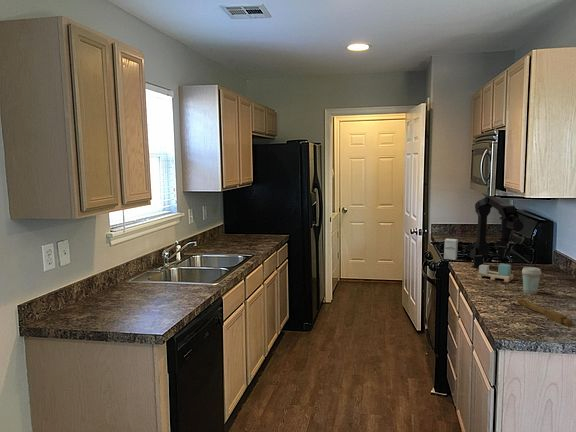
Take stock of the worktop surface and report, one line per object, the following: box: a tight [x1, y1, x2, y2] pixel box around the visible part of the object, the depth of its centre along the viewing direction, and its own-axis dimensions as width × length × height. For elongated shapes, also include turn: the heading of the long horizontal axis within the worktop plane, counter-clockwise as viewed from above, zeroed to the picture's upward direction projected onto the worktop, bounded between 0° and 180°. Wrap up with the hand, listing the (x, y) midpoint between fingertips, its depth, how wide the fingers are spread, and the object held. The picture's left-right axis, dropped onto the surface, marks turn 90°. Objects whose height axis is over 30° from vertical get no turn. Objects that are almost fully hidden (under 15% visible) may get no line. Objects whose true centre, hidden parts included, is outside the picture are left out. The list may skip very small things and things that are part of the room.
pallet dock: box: [476, 270, 514, 283], centre depth 259 cm, size 9×16×2 cm, turn 49°
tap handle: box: [517, 297, 573, 327], centre depth 201 cm, size 3×3×30 cm
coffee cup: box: [521, 266, 542, 295], centre depth 231 cm, size 8×8×12 cm
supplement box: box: [443, 237, 459, 261], centre depth 308 cm, size 7×7×13 cm
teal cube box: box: [497, 263, 512, 276], centre depth 258 cm, size 5×5×5 cm
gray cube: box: [478, 264, 490, 274], centre depth 261 cm, size 4×4×4 cm
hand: (505, 257), depth 257 cm, fingers open, 9 cm apart
